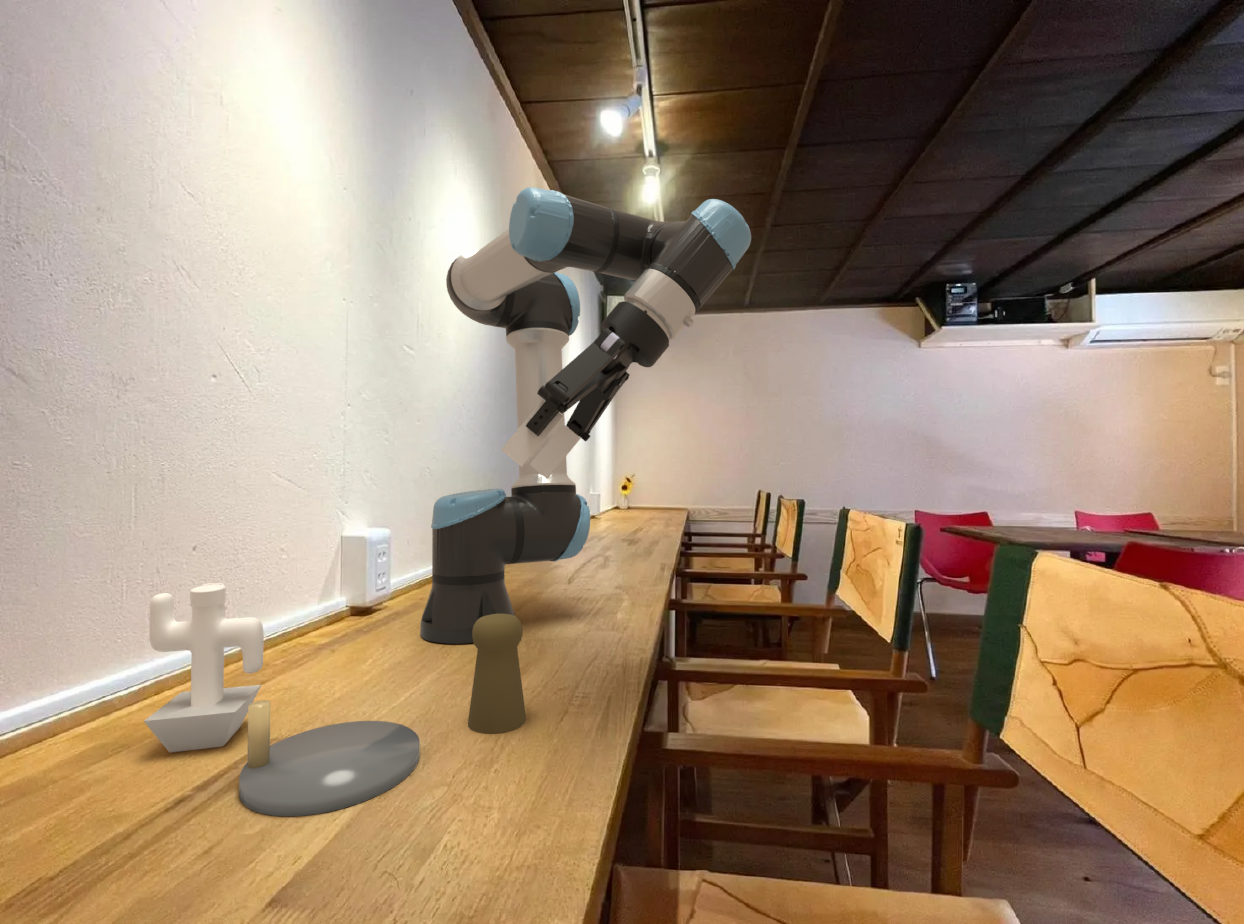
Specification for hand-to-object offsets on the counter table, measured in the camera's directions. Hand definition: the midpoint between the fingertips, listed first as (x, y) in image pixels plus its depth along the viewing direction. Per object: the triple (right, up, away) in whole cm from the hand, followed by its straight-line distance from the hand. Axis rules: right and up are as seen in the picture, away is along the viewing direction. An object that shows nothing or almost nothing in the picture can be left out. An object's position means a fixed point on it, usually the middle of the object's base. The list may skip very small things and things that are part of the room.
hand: (526, 466), depth 63 cm
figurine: (-30, -27, -8) cm, 41 cm away
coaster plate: (-15, -27, -13) cm, 33 cm away
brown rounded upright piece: (-2, -27, -4) cm, 27 cm away
